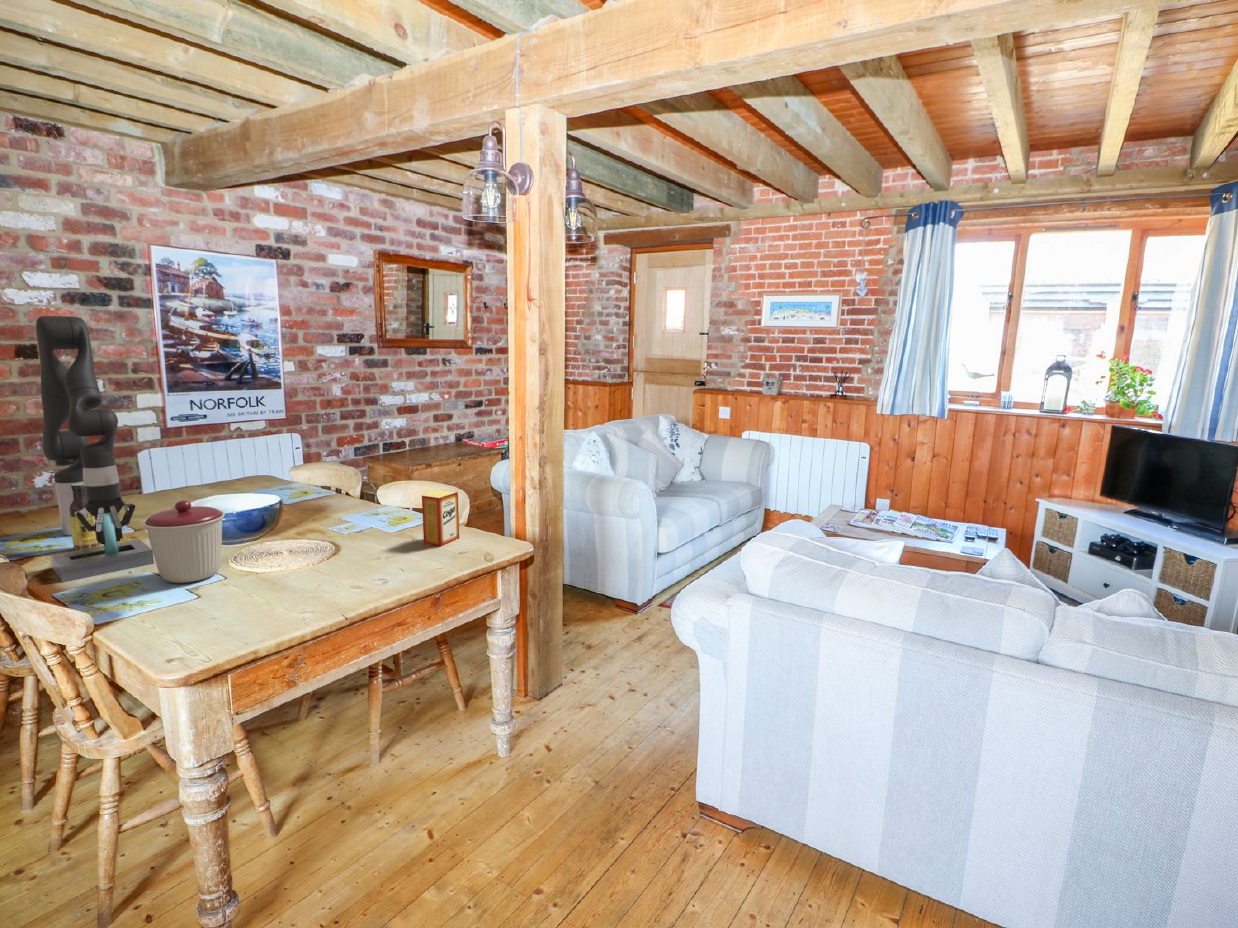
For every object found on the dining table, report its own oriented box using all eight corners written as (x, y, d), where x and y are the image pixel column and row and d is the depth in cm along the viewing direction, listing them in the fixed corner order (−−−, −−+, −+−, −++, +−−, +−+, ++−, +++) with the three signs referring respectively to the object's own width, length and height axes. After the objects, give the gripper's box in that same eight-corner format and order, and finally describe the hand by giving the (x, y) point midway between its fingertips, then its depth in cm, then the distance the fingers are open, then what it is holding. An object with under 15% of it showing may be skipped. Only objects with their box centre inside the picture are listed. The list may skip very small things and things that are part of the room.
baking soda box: (443, 535, 212) (441, 488, 209) (459, 538, 210) (457, 490, 206) (423, 543, 204) (421, 494, 200) (440, 546, 201) (438, 497, 198)
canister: (173, 594, 161) (163, 513, 157) (136, 580, 170) (125, 503, 166) (244, 572, 177) (237, 498, 172) (207, 560, 185) (199, 489, 181)
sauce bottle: (85, 552, 190) (75, 487, 186) (68, 550, 191) (58, 485, 188) (106, 545, 196) (97, 482, 193) (90, 544, 198) (80, 481, 194)
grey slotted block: (53, 568, 177) (50, 555, 176) (141, 551, 192) (139, 539, 191) (62, 582, 168) (60, 567, 167) (154, 563, 182) (152, 549, 182)
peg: (101, 562, 181) (93, 512, 178) (121, 558, 184) (114, 509, 181) (105, 566, 178) (97, 515, 175) (125, 562, 181) (118, 512, 178)
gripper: (129, 476, 184) (137, 534, 188) (65, 483, 174) (75, 544, 177) (136, 480, 179) (144, 539, 183) (71, 488, 169) (80, 551, 172)
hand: (110, 541), depth 180 cm, fingers closed on peg, 3 cm apart
